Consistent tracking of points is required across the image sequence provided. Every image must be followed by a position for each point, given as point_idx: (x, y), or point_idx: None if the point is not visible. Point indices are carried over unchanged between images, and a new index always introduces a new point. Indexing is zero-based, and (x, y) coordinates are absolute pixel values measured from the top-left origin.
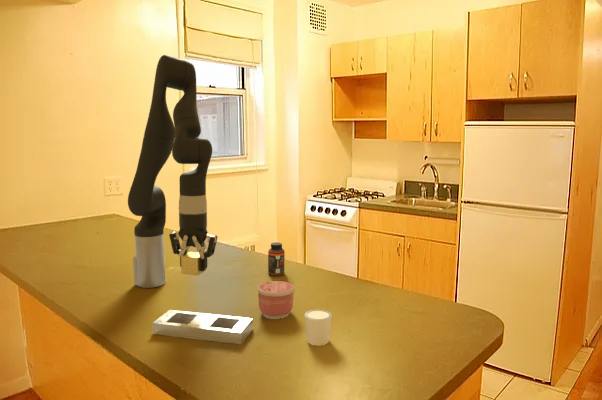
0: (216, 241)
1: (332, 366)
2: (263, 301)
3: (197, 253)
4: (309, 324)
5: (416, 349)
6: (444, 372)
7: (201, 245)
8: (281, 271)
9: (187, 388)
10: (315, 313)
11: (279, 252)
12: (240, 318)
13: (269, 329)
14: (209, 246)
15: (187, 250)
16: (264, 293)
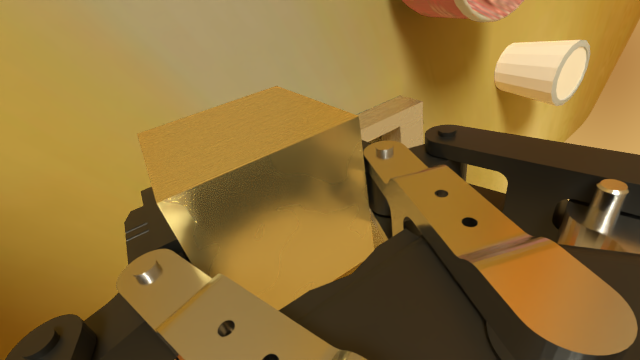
0: (621, 158)
1: (521, 132)
2: (447, 15)
3: (295, 181)
4: (542, 101)
5: (612, 9)
6: (612, 62)
7: (417, 214)
8: None
9: None
10: (568, 69)
11: None
12: (398, 121)
13: (430, 73)
14: (529, 231)
15: (204, 278)
16: (481, 21)
